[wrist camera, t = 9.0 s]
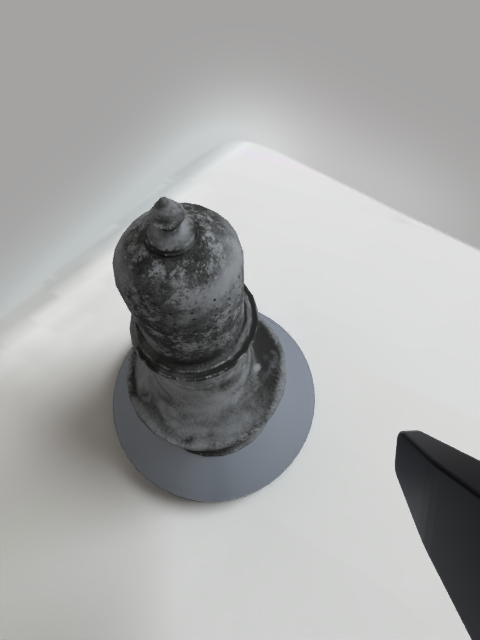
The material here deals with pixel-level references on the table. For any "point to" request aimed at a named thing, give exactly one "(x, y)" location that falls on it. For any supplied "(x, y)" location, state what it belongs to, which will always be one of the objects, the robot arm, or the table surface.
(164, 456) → the disc
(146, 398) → the grey upright turned piece
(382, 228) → the table surface
